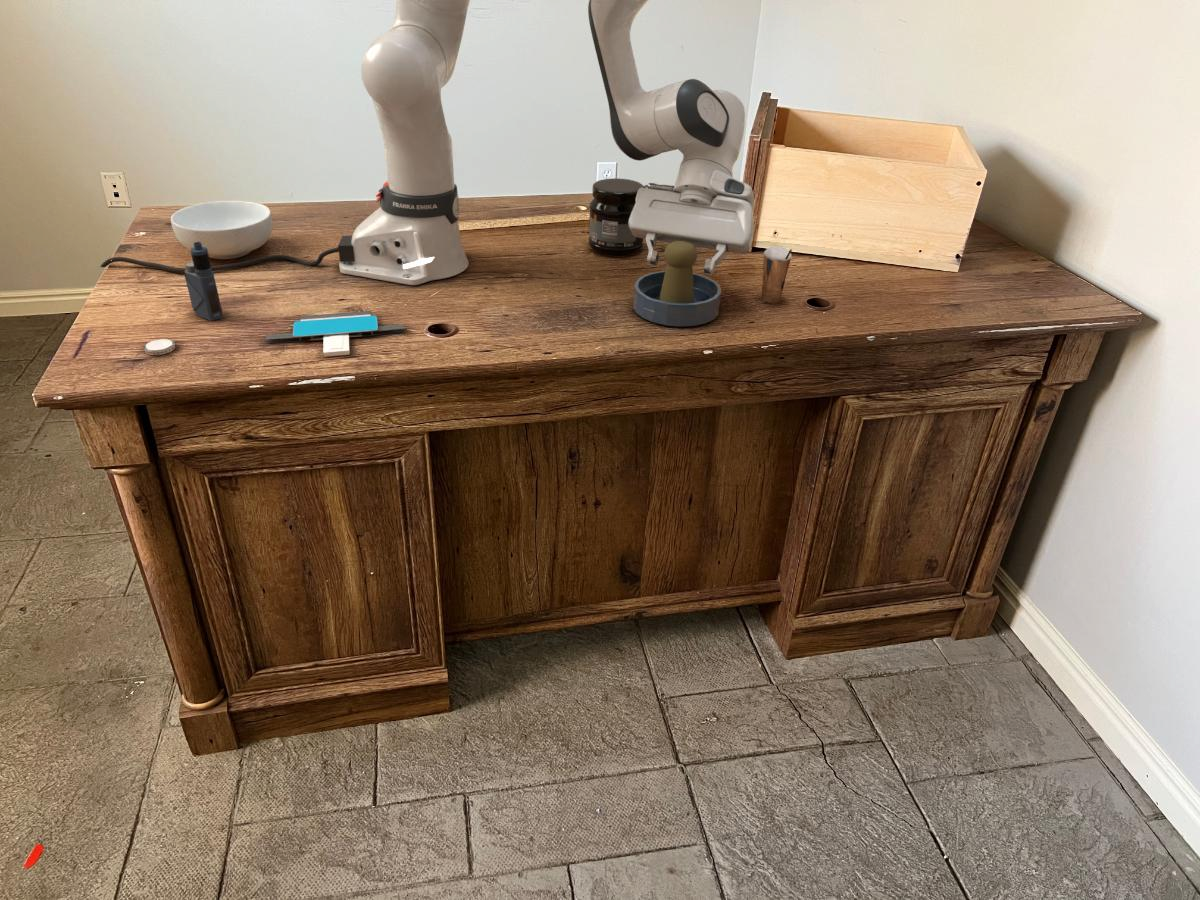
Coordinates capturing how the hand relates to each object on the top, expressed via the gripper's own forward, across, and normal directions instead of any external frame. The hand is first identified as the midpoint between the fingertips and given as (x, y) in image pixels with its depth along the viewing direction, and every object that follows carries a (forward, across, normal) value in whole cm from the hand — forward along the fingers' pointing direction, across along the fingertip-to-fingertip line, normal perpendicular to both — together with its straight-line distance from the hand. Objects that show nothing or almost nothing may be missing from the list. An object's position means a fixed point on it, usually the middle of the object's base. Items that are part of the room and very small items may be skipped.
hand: (679, 267), depth 137 cm
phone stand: (+27, -44, -17) cm, 54 cm away
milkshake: (-2, +14, +13) cm, 19 cm away
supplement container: (-11, -19, +21) cm, 30 cm away
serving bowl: (+5, 0, +5) cm, 7 cm away
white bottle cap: (+37, -65, -26) cm, 79 cm away
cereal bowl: (+12, -82, -2) cm, 83 cm away
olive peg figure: (+5, 0, +5) cm, 7 cm away
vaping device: (+28, -66, -18) cm, 74 cm away
